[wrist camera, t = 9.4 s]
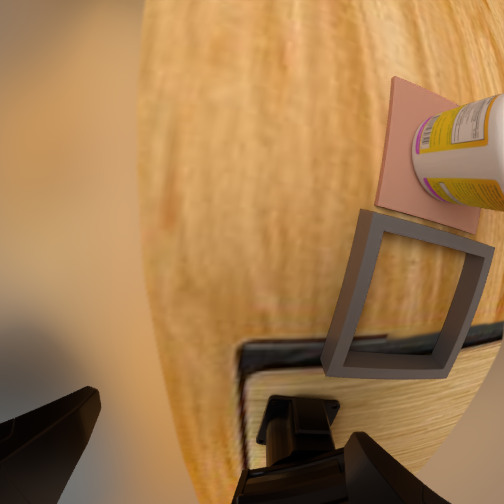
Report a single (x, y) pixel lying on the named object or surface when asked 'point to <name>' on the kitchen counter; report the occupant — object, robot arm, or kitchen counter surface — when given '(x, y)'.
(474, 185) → the supplement bottle
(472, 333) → the kitchen counter surface
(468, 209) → the mat
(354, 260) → the frame
